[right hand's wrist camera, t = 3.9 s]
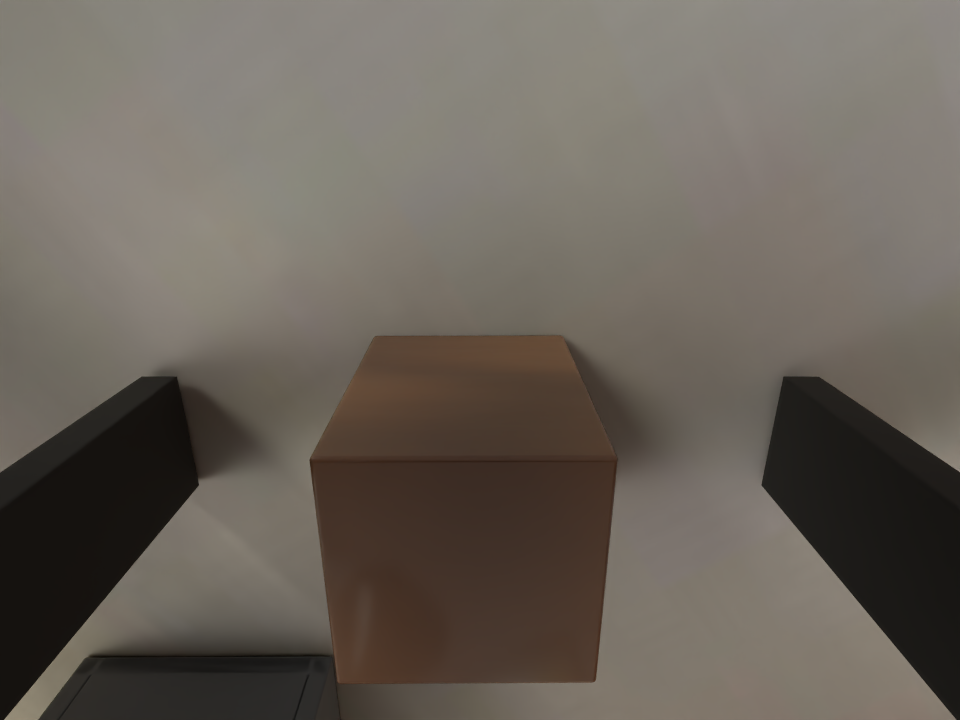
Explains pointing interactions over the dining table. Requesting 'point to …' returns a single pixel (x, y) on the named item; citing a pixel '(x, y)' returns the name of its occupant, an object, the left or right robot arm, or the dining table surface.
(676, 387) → the dining table surface
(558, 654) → the walnut block
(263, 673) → the grey trough
